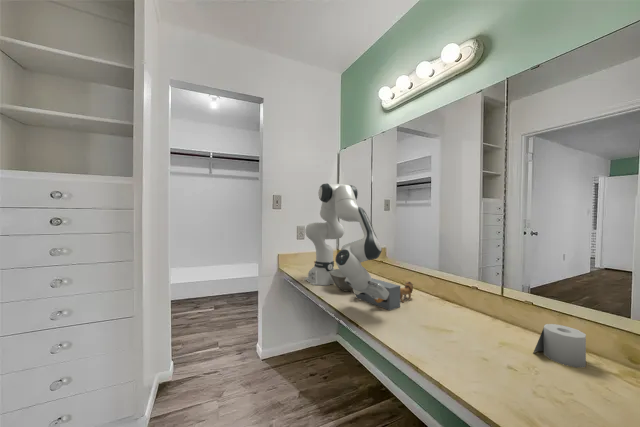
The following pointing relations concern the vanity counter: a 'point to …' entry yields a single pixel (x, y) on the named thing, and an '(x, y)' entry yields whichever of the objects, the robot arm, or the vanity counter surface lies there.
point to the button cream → (357, 292)
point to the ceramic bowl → (340, 280)
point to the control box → (391, 301)
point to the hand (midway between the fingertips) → (375, 297)
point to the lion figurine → (406, 290)
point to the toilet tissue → (563, 345)
